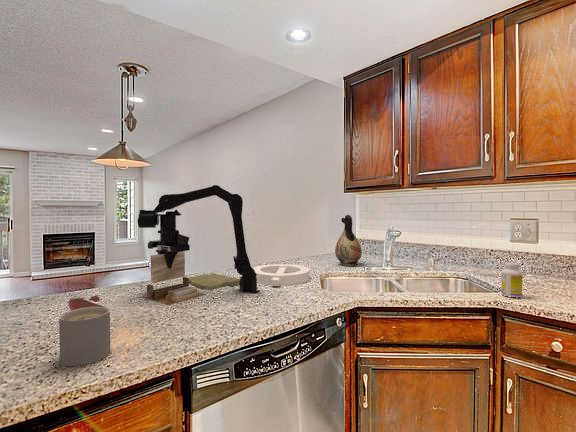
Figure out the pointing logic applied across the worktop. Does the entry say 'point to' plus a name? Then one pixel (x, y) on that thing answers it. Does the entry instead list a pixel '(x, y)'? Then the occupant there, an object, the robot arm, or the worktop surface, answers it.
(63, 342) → the coffee mug
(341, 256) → the ceramic jug
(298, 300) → the worktop surface
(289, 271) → the ring with crossbar
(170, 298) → the oak offcut
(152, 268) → the birch sheet
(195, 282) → the decorative tile
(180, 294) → the grey offcut
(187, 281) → the walnut rack
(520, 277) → the supplement bottle
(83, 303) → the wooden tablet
